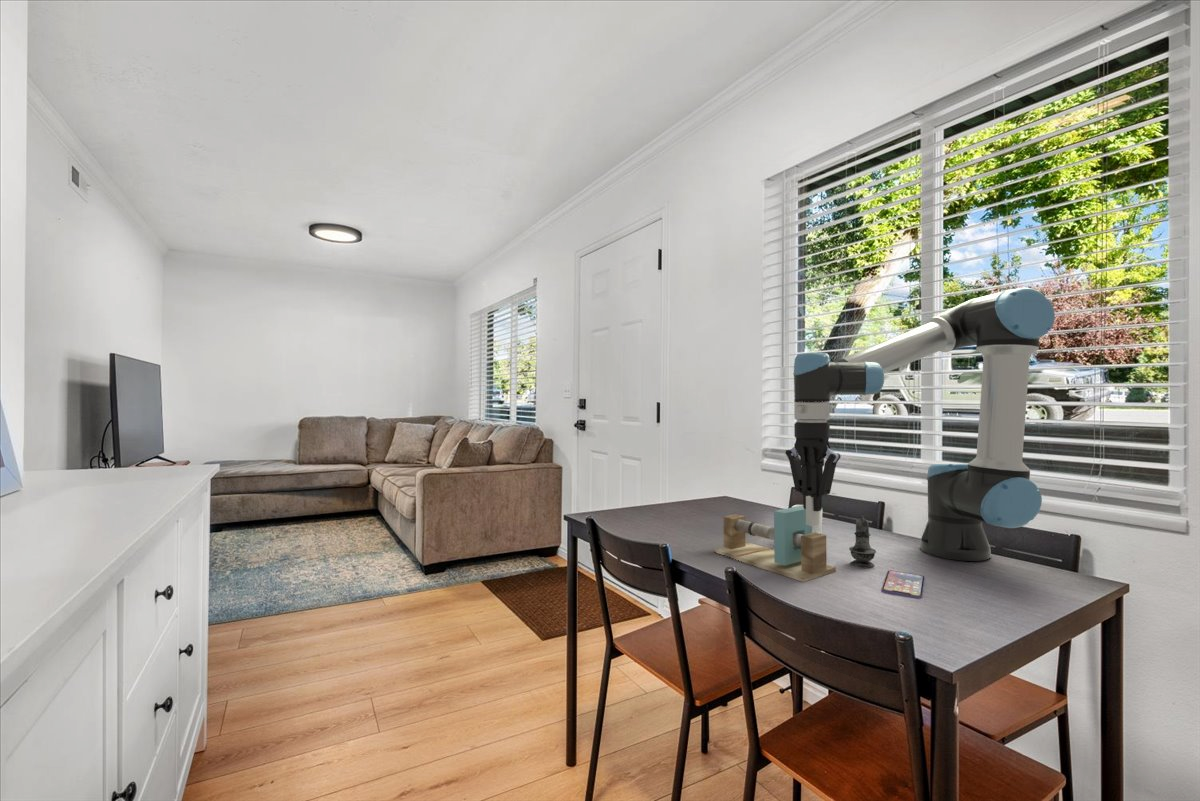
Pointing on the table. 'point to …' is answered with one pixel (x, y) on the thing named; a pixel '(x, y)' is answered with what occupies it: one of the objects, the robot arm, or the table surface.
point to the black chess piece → (862, 545)
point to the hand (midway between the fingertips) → (812, 524)
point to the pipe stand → (763, 557)
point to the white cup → (816, 527)
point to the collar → (789, 534)
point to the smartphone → (903, 584)
